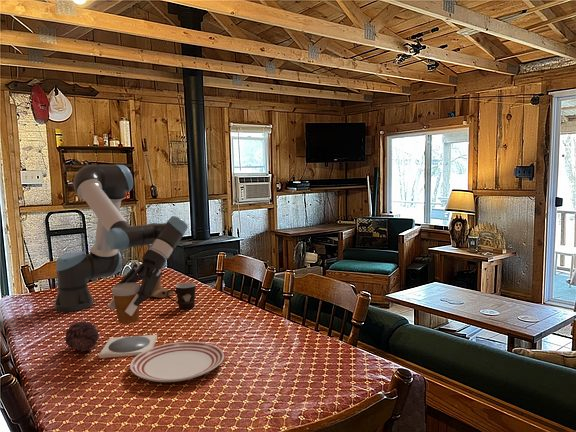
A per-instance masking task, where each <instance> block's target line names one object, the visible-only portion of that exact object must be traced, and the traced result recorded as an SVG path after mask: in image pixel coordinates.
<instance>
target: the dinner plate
mask: <svg viewBox="0 0 576 432" xmlns="http://www.w3.org/2000/svg"><path fill="white" fill-rule="evenodd" d="M224 358H225V354H224V351H223V349H222V348H220V347H218V346H216V345H214V344H211V343H208V342H207V343H206V342H202V341H179V342H169V343H165V344H160V345H157V346H154V347H153V348H151V349H148V350H146V351H144V352H142V353H140V354H139V355H135V357H134V358H132V360H131V362H130V363H129V369H130V371H131V373H133V374H134V375H135V376H137V377H138V378H141V379H143V380H145V381H152V382H156V383H174V382H175V383H176V382H182V381H183V382H184V381H188V380H192V379H194V378H198V377H200V376H201V377H202V376H203V375H206V374H208V373H210V372H211V371H213V370H214V369H216V368H217V367H218V366H219V365H220V364H221V363H223V360H224Z"/></svg>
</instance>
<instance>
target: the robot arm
mask: <svg viewBox="0 0 576 432" xmlns="http://www.w3.org/2000/svg"><path fill="white" fill-rule="evenodd" d="M73 188H74V191H75V193H76V195H77V196H78V197H79V199H81V200H84V201H85V202H86V204H87V205H88V207H89V208H90V209H91V211H92V212H93V213H94V214H95V216H96V217H97V220H96V221H97V223H96V232H95V241H94V245H92V246H91V247H90V251H89V253H87V254H86V252H85V251H76V252H73V251H72V252H70V253H69V252H68V253H65V254H63V255H60V256H58V258H56V262H55V264H56V267H55V271H56V278H57V279H56V280H57V294H56V298H55V302H54V310H55V311H57V312H60V313H61V312H62V313H63V312H75V311H76V312H77V311H80V310H85V309H88V308H90V307H92V306H93V304H94V299H93V296H92V293H91V292H90V289H89V288H88V281H90V280H97V279H100V278H106V277H112V276H114V275H117V274H119V272H120V271H121V269H122V266H123V259H122V258H123V257H122V254H121V252H120V251H119V250H124V249H130V248H135V247H142V246H147V245H149V247H148V249H147V250H146V252H145V253H144V255H143V256H142V262H141V263H140V264H139V265H138V264H137V263H134V264H133V265H132V267H131V268H130V270H129V271H128V272H127V273H126V274H125V276H123V278H122V279H121V280H120V281H119V282H118V283H117V284H116V285H118V284H122V283H138V282H139V281H141V284H140V286H141V288H140V291H139V292H137V293H138V294H139V295H138V294H136V295H135V297H134V298H133V300H132V301H131V303H130V304H129V306H128V307H127V309H126V310H125V312H126V313H127V314H129V315H130V316H132V315H133V313H134V312H135V310H136V309H137V307H138V306H139V305H141V303H142V302H143V301H144V300H145V299H146V298H148V299H149V298H151V297H152V296H151V295H152V292H153V290H154V288H155V286H156V284H157V281H158V279H159V277H160V276H161V277H162V275H163V272H162V269H163V267H164V266H165V263H166V262H167V261H166V260H168V259H169V257H170V256H171V255H172V253H173V251H174V250H175V248H176V247H177V246H178V244H179V243H180V242H181V240H182V238H183V237H184V236H185V233H186V232H187V231H188V224H187V222H186V221H185V220H184V219H183V218H181V217H179V216H176V215H173V216H172V215H171V217H169V219H168V220H167V222H162V223H159V222H158V223H157V222H154V223H153V222H152V223H148V224H142V225H134V226H133V225H130V223H129V222H128V220H127V219H126V218H125V216H123V214H122V213H121V206H122V205H121V204H122V200H124V199H126V196H127V192H130V191H132V190H133V188H134V178H133V174H132V172H131V170H130V169H129V167H127V166H126V165H124V164H116V163H115V164H88V165H84V166H83V167H82V168H80V169H79V170H78V171H77V172H76V174H75V175H74V177H73ZM159 269H161V271H160V270H159ZM142 278H143V280H142ZM148 292H149V293H148ZM107 307H108V308H110V309H111V310H112V311H115V310H116V306H115V301H114V296H113V297H112V299H111V300H110V301H109V303H108V304H107Z"/></svg>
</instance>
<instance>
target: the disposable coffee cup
mask: <svg viewBox="0 0 576 432" xmlns="http://www.w3.org/2000/svg"><path fill="white" fill-rule="evenodd" d="M117 284H118V283H117ZM117 284H114V285H113V286H112V289H111V291H110V292H111V293H112V294H111V295H112V296H113V297H114V301H115V306H116V309H115V310H116V315H117V320H118V323H119V324H121V325H130V324H135V323H137V322H138V321H139V319H140V308H141V307H140V305H141V304H140V305H139V306H138V307H137V309H136V310H135V312H134V313H133V315H132V316H130V315H129V314H127V313H126V312H125V310H126V309H127V307H128V306H129V304H130V303H131V301H132V300H133V298H134V297H135V295H136V294H138V293H137V292H139V291H140V288H141V284H140V283H138V282H136V283H122V284H118V285H117ZM138 295H139V294H138Z"/></svg>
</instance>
